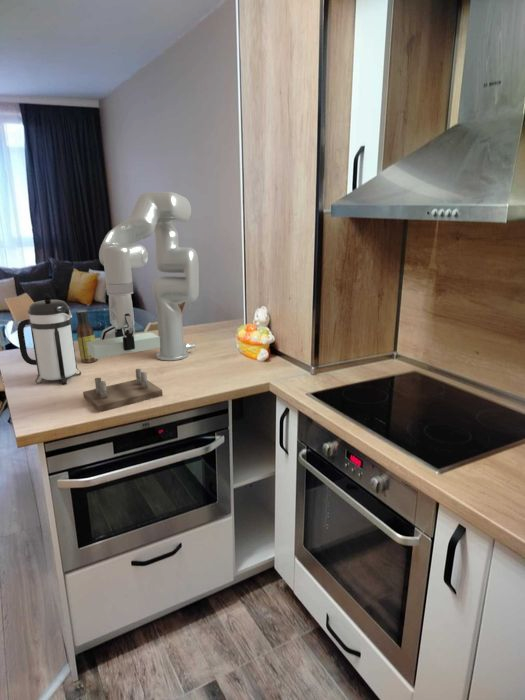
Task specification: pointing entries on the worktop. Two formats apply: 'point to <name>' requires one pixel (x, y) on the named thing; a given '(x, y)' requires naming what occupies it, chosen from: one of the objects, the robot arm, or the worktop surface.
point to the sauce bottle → (84, 336)
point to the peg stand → (121, 392)
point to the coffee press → (50, 340)
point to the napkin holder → (110, 332)
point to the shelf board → (116, 345)
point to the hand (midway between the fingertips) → (125, 346)
